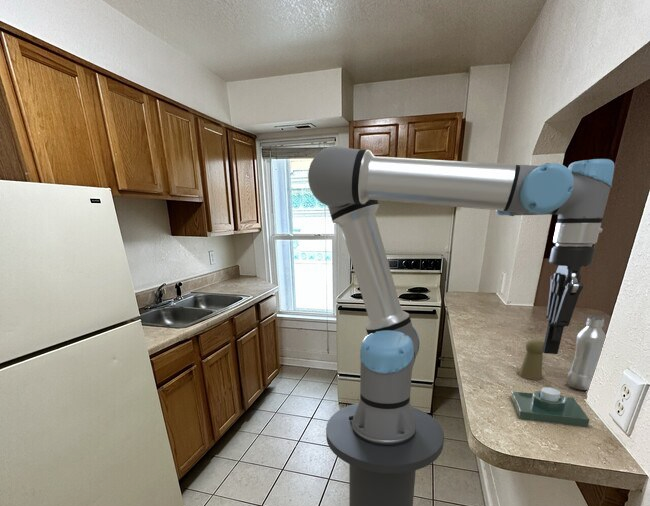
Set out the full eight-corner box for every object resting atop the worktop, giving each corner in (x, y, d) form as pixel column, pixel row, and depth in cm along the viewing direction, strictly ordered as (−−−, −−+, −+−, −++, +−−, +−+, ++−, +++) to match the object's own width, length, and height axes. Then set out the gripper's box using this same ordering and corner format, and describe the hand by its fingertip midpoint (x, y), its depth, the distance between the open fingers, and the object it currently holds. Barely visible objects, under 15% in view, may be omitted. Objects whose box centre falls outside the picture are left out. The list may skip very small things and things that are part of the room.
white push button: (542, 401, 85) (543, 393, 84) (537, 394, 88) (539, 386, 87) (561, 403, 83) (562, 395, 83) (556, 395, 87) (557, 388, 86)
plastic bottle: (592, 385, 100) (610, 317, 93) (593, 395, 94) (612, 323, 87) (565, 380, 103) (581, 314, 96) (564, 389, 98) (581, 319, 91)
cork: (541, 381, 103) (548, 345, 100) (518, 377, 106) (524, 342, 103) (541, 373, 108) (549, 339, 104) (519, 370, 111) (525, 337, 107)
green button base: (519, 418, 84) (522, 403, 83) (511, 398, 94) (513, 384, 93) (587, 427, 80) (591, 411, 79) (571, 404, 90) (575, 390, 88)
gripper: (608, 247, 66) (578, 364, 74) (583, 243, 77) (559, 345, 85) (562, 247, 68) (538, 361, 76) (544, 243, 79) (525, 342, 88)
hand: (549, 352), depth 81 cm, fingers closed
